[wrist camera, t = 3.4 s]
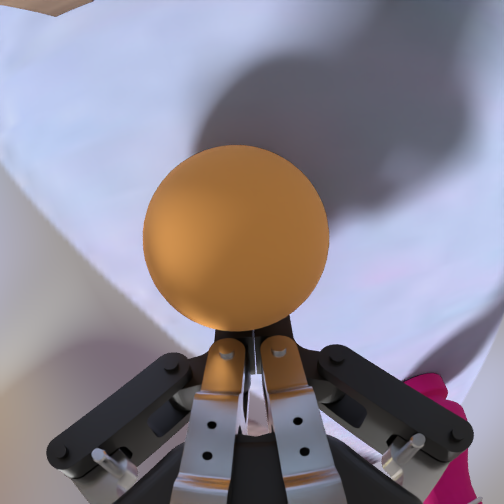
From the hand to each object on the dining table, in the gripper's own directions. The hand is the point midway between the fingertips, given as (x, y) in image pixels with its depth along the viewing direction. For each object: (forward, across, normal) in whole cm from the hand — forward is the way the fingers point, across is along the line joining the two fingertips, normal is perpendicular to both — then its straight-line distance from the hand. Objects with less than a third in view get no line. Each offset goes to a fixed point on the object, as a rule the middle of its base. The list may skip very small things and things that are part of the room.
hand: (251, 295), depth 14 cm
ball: (-2, 0, -4) cm, 5 cm away
